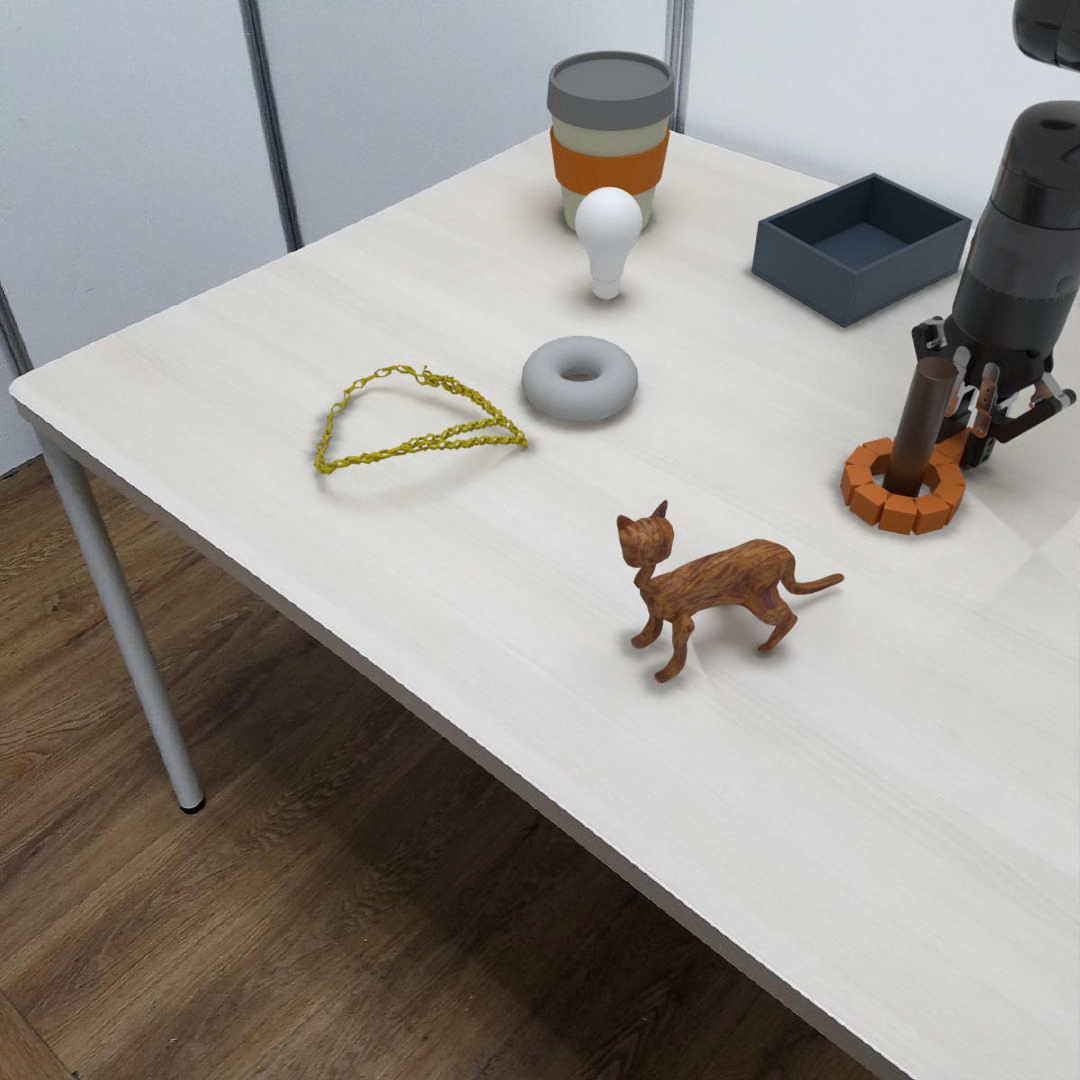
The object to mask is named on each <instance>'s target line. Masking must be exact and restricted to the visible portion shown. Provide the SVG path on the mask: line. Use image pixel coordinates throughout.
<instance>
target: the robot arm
mask: <svg viewBox="0 0 1080 1080" xmlns="http://www.w3.org/2000/svg"><path fill="white" fill-rule="evenodd" d="M1013 3H1014V4H1013V9H1012V16H1011V29H1012V31H1011V32H1012V36H1013V40H1014V43H1015V46H1016V47H1017V49H1018V50H1019V51H1020V53H1021V54H1022V55H1023V56H1025V57H1026V58H1028V59H1030V60H1032V61H1034V62H1037V63H1041V64H1044V65H1047V66H1048V65H1049V66H1051V67H1055V68H1058V69H1063V70H1066V71H1068V72H1069V71H1070V72H1073V73H1076V74H1080V0H1014V2H1013ZM1079 290H1080V100H1071V99H1061V100H1060V99H1059V100H1058V99H1057V100H1046V101H1041V102H1037V103H1034V104H1032V105H1030V106H1028V107H1026V108H1025V109H1024V110H1022V112H1020V113H1019V114H1018V116H1017V117H1016V119H1015V120H1014V122H1013V124H1012V126H1011V128H1010V130H1009V134H1008V136H1007V140H1006V142H1005V146H1004V149H1003V153H1002V156H1001V159H1000V163H999V166H998V169H997V172H996V176H995V179H994V182H993V186H992V189H991V192H990V195H989V197H988V200H987V202H986V205H985V207H984V209H983V211H982V213H981V215H980V218H979V220H978V223H977V225H976V227H975V230H974V233H973V236H972V238H971V241H970V247H969V250H968V254H967V257H966V260H965V264H964V267H963V270H962V273H961V276H960V280H959V283H958V286H957V290H956V293H955V296H954V300H953V303H952V307H951V314H949V315H948V316H947V317H946V318H945V319H944V318H943V317H942V316H940V315H934V316H933V317H931V318H928V319H926V320H924V321H922V322H920V323H919V324H917V325H915V326H914V327H913V328H912V329H911V332H910V333H911V338H912V343H913V348H914V351H915V356H916V361H917V363H918V362H919V361H920V360H921V359H923V358H926V357H940V358H944V359H946V360H949V361H951V362H952V363H953V364H954V365H955V366H956V367H957V369H958V375H957V378H956V381H955V384H954V387H953V391H952V394H951V397H950V400H949V403H948V406H947V409H946V412H945V415H944V418H943V421H942V424H941V428H940V431H939V434H938V437H937V440H936V443H935V445H938V444H940V443H941V442H943V441H945V440H946V439H949V438H951V437H952V436H954V435H956V434H957V433H959V432H961V431H962V430H964V429H966V428H967V427H968V424H969V422H970V419H971V416H972V413H973V411H972V410H971V409H969V407H970V406H971V405H973V404H974V401H975V399H976V396H977V399H976V402H975V406H974V408H975V409H976V410H977V412H976V415H975V418H974V422H973V425H972V428H973V430H972V431H970V432H969V435H968V437H967V440H966V443H965V446H964V451H963V454H962V457H961V460H960V462H959V467H960V469H962V470H963V471H965V472H967V471H969V470H971V469H976V468H978V467H979V466H981V465H982V464H984V463H986V462H987V461H988V460H989V459H990V458H991V457H992V453H993V450H994V447H995V446H996V442H998V443H1000V444H1007V443H1009V442H1011V441H1012V440H1014V439H1016V438H1018V437H1019V436H1021V435H1023V434H1024V433H1026V432H1028V431H1030V430H1031V429H1033V428H1035V427H1037V426H1039V425H1040V424H1043V422H1045V421H1047V420H1049V419H1051V418H1052V417H1054V416H1055V415H1057V414H1059V413H1060V412H1062V411H1064V410H1065V409H1067V408H1069V407H1070V406H1072V405H1074V404H1075V403H1076V402H1077V400H1078V397H1077V396H1078V395H1077V393H1076V392H1075V391H1074V390H1073V389H1072V388H1064V389H1062V388H1061V387H1060V385H1059V384H1058V382H1057V381H1056V379H1055V378H1054V376H1053V375H1052V372H1053V370H1054V367H1055V366H1054V365H1055V361H1054V348H1055V346H1056V344H1057V343H1058V340H1059V339H1060V338H1061V335H1062V333H1063V330H1064V327H1065V325H1066V322H1067V320H1068V317H1069V315H1070V312H1071V309H1072V308H1073V304H1074V303H1075V299H1076V297H1077V294H1078V291H1079ZM1031 386H1034V393H1033V394H1032V395H1031V396H1030V399H1029V401H1030V402H1028V407H1029V410H1027V411H1025V412H1024V413H1022V414H1019V416H1017V417H1012V416H1009V415H1010V412H1011V409H1012V406H1013V404H1014V403H1015V402H1016V401H1017V399H1018V398H1019V395H1020V393H1021V391H1023V390H1025V389H1027V388H1029V387H1031Z"/></svg>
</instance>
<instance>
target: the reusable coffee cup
mask: <svg viewBox="0 0 1080 1080" xmlns="http://www.w3.org/2000/svg"><path fill="white" fill-rule="evenodd" d="M675 93H676V92H675V73H674V71H673V69H672V67H670V66H669V64H667V63H665V62H664V61H663V60H661V59H658V58H656V57H654V56H651V55H648V54H644V53H640V52H635V51H626V50H595V51H587V52H583V53H578V54H574V55H572V56H569V57H567V58H564V59H562V60H560V61H559V62H557V63H556V64H554V65H553V66H552V68H551V69H550V71H549V75H548V85H547V94H546V95H547V96H546V108H547V110H548V111H549V114H550V115H551V121H552V122H551V123H552V125H551V127H550V130H549V138H550V139H549V140H550V146H551V154H552V161H553V168H554V174H555V178H556V180H557V182H558V183H559V184H560V190H561V199H562V205H563V213H564V220H565V221H564V222H565V223H566V226H568V227H569V228H570V230H572V231H574V232H575V233H577V232H576V228H575V217H576V212H577V209H578V207H579V205H580V203H581V202H582V201H583V199H584V198H585V197H586V196H587V195H588V194H589V193H591V192H593V191H595V190H597V189H599V188H604V187H614V188H619V189H622V190H624V191H626V192H627V193H629V194H630V195H631V196H632V197H633V198H634V199H635V200H636V202H637V204H638V205H639V207H640V210H641V214H642V229H641V231H642V230H644V229H645V228H646V227H647V226H648V224H649V221H650V217H651V212H652V206H653V201H654V197H655V192H656V186H657V185H658V184H659V183H660V181H661V179H662V177H663V172H664V167H665V163H666V157H667V152H668V147H669V142H670V136H671V131H670V128H669V121H670V116H671V114H672V113H673V112H674V110H675V106H676V99H675V98H676V97H675Z"/></svg>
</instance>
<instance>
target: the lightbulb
mask: <svg viewBox="0 0 1080 1080" xmlns="http://www.w3.org/2000/svg"><path fill="white" fill-rule="evenodd" d="M575 228H576V232H575V233H576V236H577V238H578V240H579V242H580V244H581V245H582V248H583V249H584V250H585V253H586V255H587V257H588V262H589V271H590V275H591V277H592V292H593V294H594V295H595V296H596V297H597V298H600V299H602V300H605V301H609V300H611V299H613V298H615V297H617V296H618V295H619V294H620V289H621V281H622V276H623V275H624V272H625V264H626V261H627V258H628V256H629V254H630V252H631V250H632V249H633V248H634V246H635V245H636V243H637V241H638V240H639V237H640V236H641V232H642V230H641V229H642V214H641V210H640V207H639V205H638V204H637V202H636V200H635V199H634V198H633V197H632V196H631V195H630V194H629V193H627V192H626V191H624V190H622V189H619V188H614V187H604V188H599V189H597V190H595V191H593V192H591V193H589V194H588V195H587V196H586V197H585V198H584V199H583V201H582V202H581V203H580V205H579V207H578V209H577V212H576V217H575Z"/></svg>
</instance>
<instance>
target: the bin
mask: <svg viewBox="0 0 1080 1080" xmlns="http://www.w3.org/2000/svg"><path fill="white" fill-rule="evenodd" d="M972 224H973V219H972V218H970V217H968V216H966V215H964V214H962V213H959V212H957V211H955V210H953V209H951V208H949V207H947V206H945V205H943V204H940V203H938V202H937V201H934V200H932V199H930V198H928V197H926V196H924V195H922V194H920V193H918V192H915V191H913V190H912V189H909V188H907V187H905V186H904V185H901V184H899V183H897V182H896V181H895V182H894V180H891V179H889V178H886V176H885V177H884V176H882V175H880V174H878V173H876V172H872V173H870V174H868V175H865V176H863V177H861V178H860V177H859V178H858V179H855V180H853V181H850V182H848V183H846V184H843V185H841V186H839V187H837V188H834V189H831V190H829V191H827V192H824V193H822V194H820V195H817V196H815V197H812V198H810V199H808V200H806V201H803V202H801V203H798V204H796V205H794V206H791V207H789V208H786V209H784V210H782V211H779V212H777V213H775V214H772V215H770V216H767V217H765V218H763V219H760V220H758V221H757V229H756V235H755V236H756V237H755V243H754V250H753V251H754V252H753V257H752V263H751V264H752V265H751V273H752V274H754V275H756V276H757V277H759V278H761V279H763V280H764V281H766V282H768V283H769V284H771V285H773V286H774V287H776V288H778V289H779V290H781V291H783V292H784V293H786V294H787V295H789V296H790V297H793V298H794V299H796V300H798V301H799V302H801V303H803V304H804V305H806V306H807V307H809V308H811V309H813V310H814V311H815V312H817V313H818V314H820V315H822V316H824V317H825V318H827V319H829V320H831V321H833V322H834V323H836V324H838V325H839V326H840V327H843V328H846V327H848V326H850V325H852V324H854V323H856V322H858V321H860V320H862V319H864V318H866V317H868V316H870V315H871V314H875V313H876V312H878V311H880V310H882V309H884V308H886V307H888V306H890V305H892V304H894V303H896V302H898V301H900V300H902V299H904V298H907V297H908V296H910V295H912V294H915V293H916V292H918V291H920V290H922V289H924V288H926V287H928V286H930V285H932V284H934V283H936V282H938V281H940V280H942V279H944V278H947V277H948V276H950V275H952V274H954V273H956V272H958V271H959V268H960V264H961V261H962V258H963V254H964V251H965V248H966V243H967V241H968V238H969V235H970V231H971V228H972Z"/></svg>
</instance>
